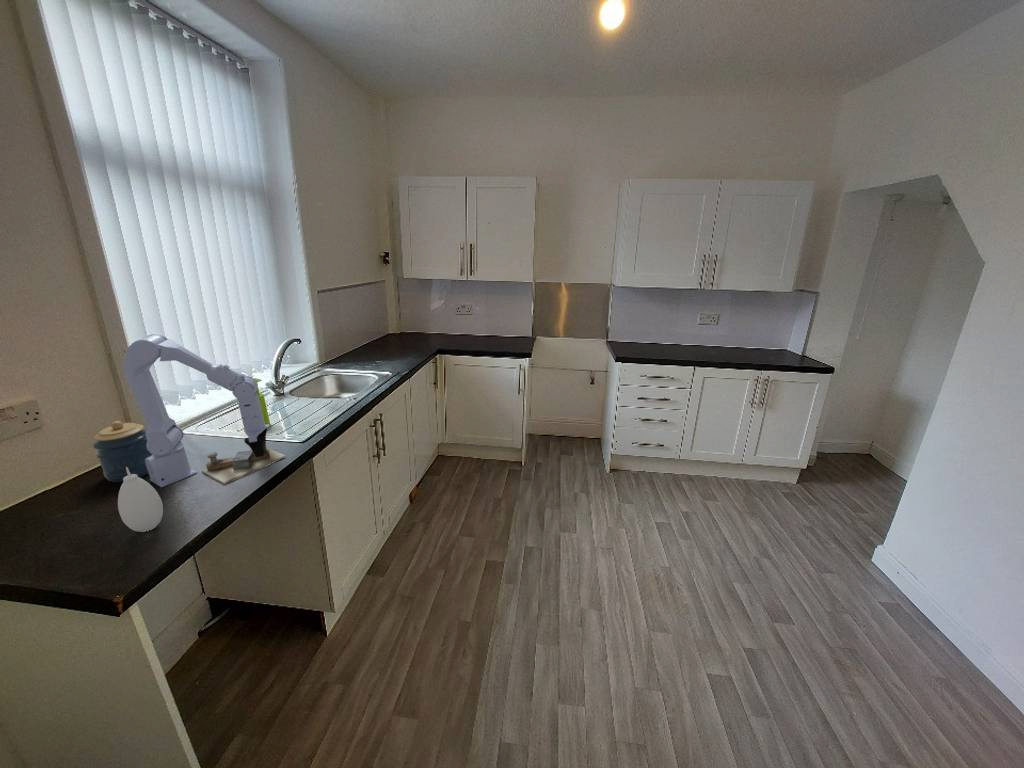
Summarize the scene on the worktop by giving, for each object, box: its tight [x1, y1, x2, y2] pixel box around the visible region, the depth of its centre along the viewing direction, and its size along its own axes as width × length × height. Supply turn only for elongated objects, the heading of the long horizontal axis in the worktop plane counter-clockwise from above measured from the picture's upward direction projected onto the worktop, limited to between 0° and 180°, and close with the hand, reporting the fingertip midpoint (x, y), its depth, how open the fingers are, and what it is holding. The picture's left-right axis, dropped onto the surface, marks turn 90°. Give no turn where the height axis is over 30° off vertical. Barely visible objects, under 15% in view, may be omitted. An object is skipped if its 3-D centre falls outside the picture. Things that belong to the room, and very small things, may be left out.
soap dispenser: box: [252, 377, 271, 426], centre depth 157 cm, size 6×7×20 cm
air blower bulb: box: [117, 467, 164, 533], centre depth 99 cm, size 8×8×18 cm
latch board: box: [201, 446, 287, 485], centre depth 132 cm, size 19×14×1 cm
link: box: [205, 441, 270, 470], centre depth 131 cm, size 17×4×5 cm, turn 119°
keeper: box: [231, 449, 253, 470], centre depth 130 cm, size 6×4×4 cm
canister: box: [92, 420, 153, 483], centre depth 126 cm, size 13×13×18 cm
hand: (260, 452), depth 133 cm, fingers open, 5 cm apart
